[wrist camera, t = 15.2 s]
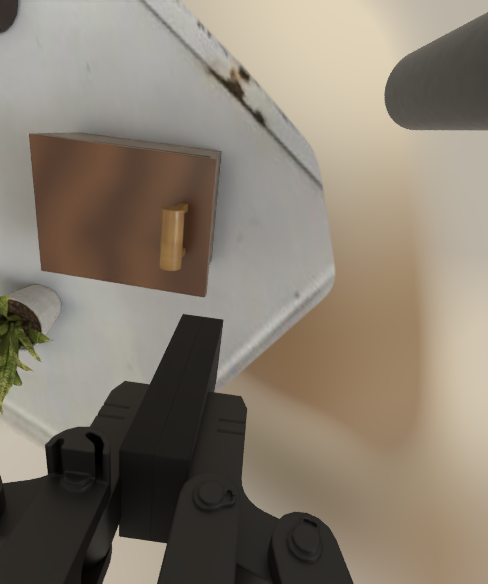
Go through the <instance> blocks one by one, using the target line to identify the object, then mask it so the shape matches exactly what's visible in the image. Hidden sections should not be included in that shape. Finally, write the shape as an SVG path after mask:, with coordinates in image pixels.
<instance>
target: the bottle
mask: <svg viewBox="0 0 488 584" xmlns="http://www.w3.org/2000/svg"><path fill="white" fill-rule="evenodd" d="M17 7H18V0H0V33H1V32H4V31H6V30H7V29H8V28H9V27H10V26H11V25H12V23H13V21H14V19H15V17H16V14H17Z"/></svg>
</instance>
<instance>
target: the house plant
mask: <svg viewBox="0 0 488 584" xmlns="http://www.w3.org/2000/svg"><path fill="white" fill-rule="evenodd" d="M60 312H61V301H60V299H59V297H58V295H57V294H56V293H55V292H54V291H53V290H52V289H50V288H48V287H45V286H42V285H37V284H36V285H31V286H28V287H26V288H23V289H20V290H17V291H15V292H12V293H9V294H6V295H4V296H1V297H0V412H1V413H2V406H1V405H2V402H3V399H4V397H5V396H6V394H7V393H8V392H9V390H10V388H11V387H12V385H13V384H14V385H18V386H21V385H22V381H21V379H20V377H19V375H18V373H17V370H16V368H17V366H18V367H20V368H22V369H23V370H26V371H28V370H31V369H30V368H28V367H27V366H25V365H24V364H23V363H22V362H21V361H20V360H19V359H18V351H27V350H28V351H29V353H30V354H31V355H32V356H33V357H34V358H36V359H37V360H38V361H40V358H39V357H38V355H37V354H36V353H35V351H34V348H35V347H36V346H37V345H38V344H39V343H44V342H48V341H53V340H50V339H49V338H47V337H46V336H45V335H46V333H47V332H48V330H49V329H50V327H51V326H52V324H53V323H54V321H55V320H56V318H57V317H58V315H59V314H60ZM40 362H41V361H40ZM33 372H34V371H33Z"/></svg>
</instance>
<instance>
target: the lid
mask: <svg viewBox="0 0 488 584" xmlns="http://www.w3.org/2000/svg"><path fill="white" fill-rule="evenodd" d="M29 138H30V149H31V161H32V172H33V183H34V194H35V205H36V216H37V227H38V239H39V250H40V261H41V270H42V271H47V272H54V273H60V274H66V275H72V276H78V277H84V278H90V279H96V280H102V281H108V282H114V283H120V284H126V285H132V286H138V287H145V288H151V289H157V290H163V291H169V292H175V293H181V294H187V295H193V296H199V297H205V296H206V294H207V284H208V272H209V261H210V250H211V239H212V228H213V216H214V205H215V194H216V183H217V172H218V159H217V158H209V157H202V156H195V155H187V154H180V153H173V152H166V151H158V150H151V149H144V148H136V147H129V146H122V145H114V144H107V143H100V142H93V141H85V140H78V139H71V138H63V137H56V136H49V135H42V134H29Z"/></svg>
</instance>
